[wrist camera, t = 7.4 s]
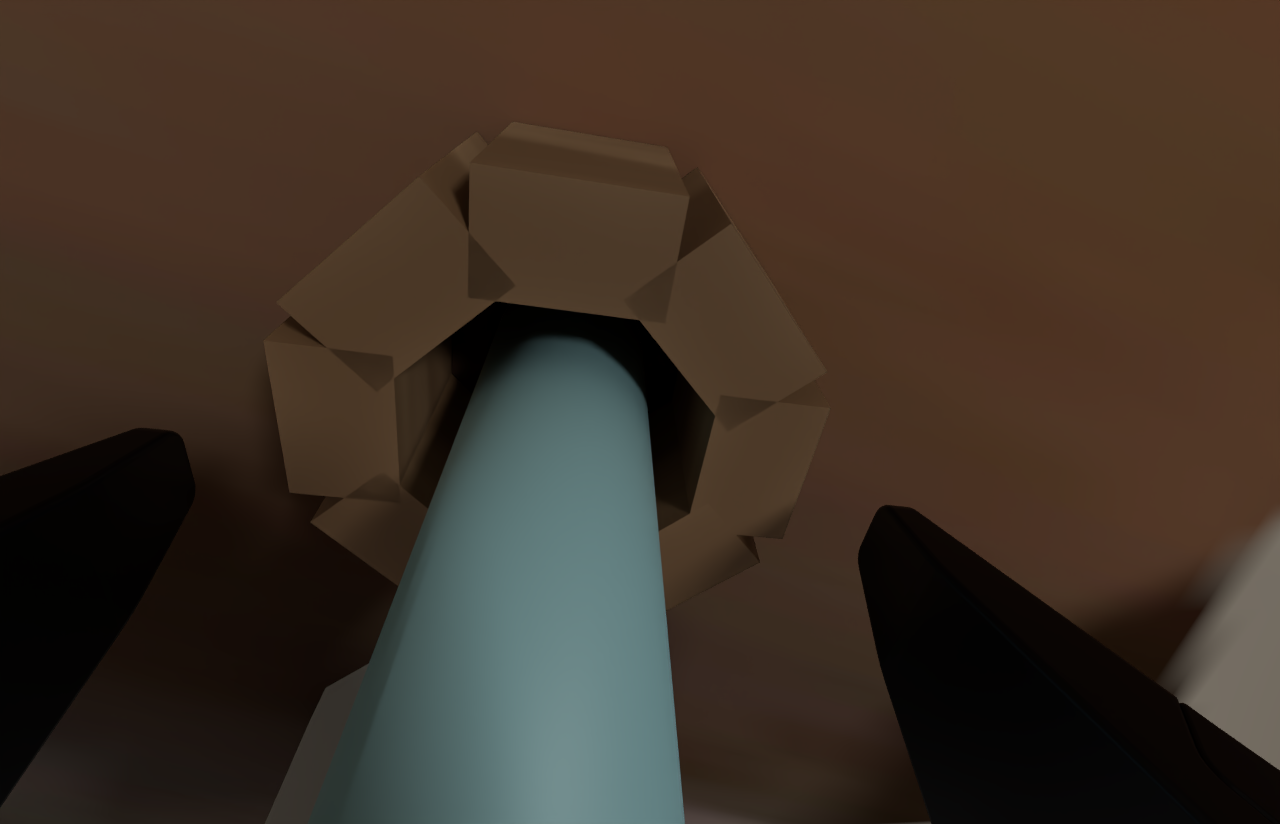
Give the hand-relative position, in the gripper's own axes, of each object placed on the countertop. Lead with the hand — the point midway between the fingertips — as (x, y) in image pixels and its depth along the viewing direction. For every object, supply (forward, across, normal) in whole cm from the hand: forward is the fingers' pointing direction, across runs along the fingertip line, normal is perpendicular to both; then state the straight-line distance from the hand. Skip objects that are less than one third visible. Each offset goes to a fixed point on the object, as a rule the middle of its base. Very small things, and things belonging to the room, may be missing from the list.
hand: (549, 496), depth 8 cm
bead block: (+4, 0, 0) cm, 4 cm away
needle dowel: (+4, 0, 0) cm, 5 cm away
